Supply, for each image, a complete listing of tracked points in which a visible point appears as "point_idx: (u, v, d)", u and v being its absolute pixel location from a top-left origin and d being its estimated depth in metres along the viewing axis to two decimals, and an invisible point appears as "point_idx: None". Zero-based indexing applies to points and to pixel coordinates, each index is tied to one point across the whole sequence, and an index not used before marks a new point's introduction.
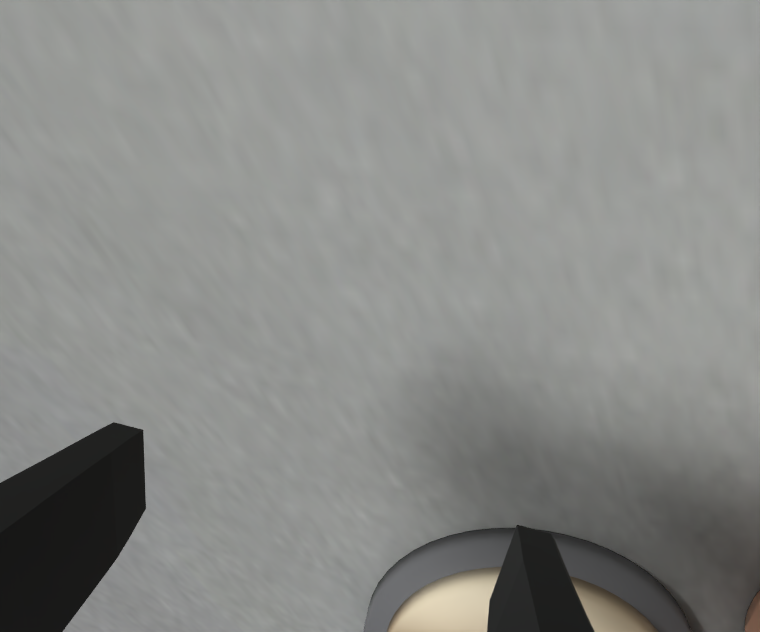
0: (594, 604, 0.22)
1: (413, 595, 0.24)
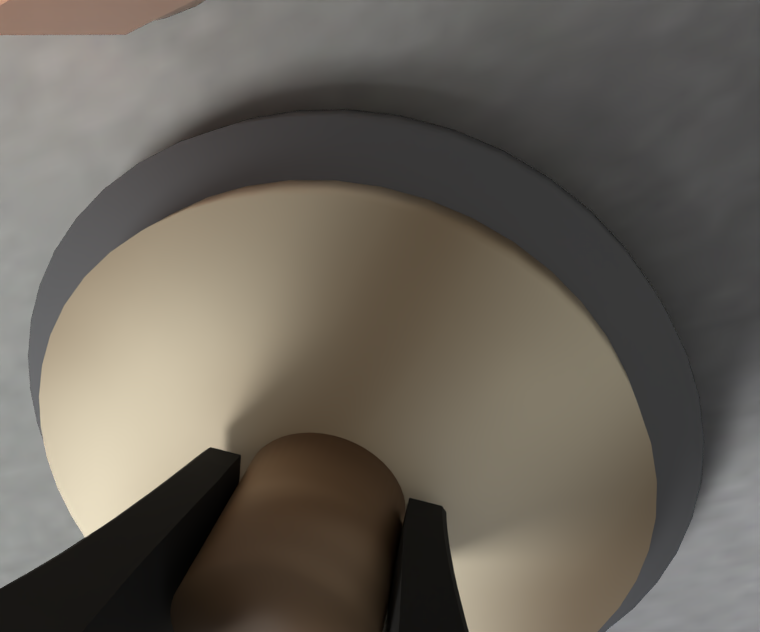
0: (42, 377, 0.11)
1: None
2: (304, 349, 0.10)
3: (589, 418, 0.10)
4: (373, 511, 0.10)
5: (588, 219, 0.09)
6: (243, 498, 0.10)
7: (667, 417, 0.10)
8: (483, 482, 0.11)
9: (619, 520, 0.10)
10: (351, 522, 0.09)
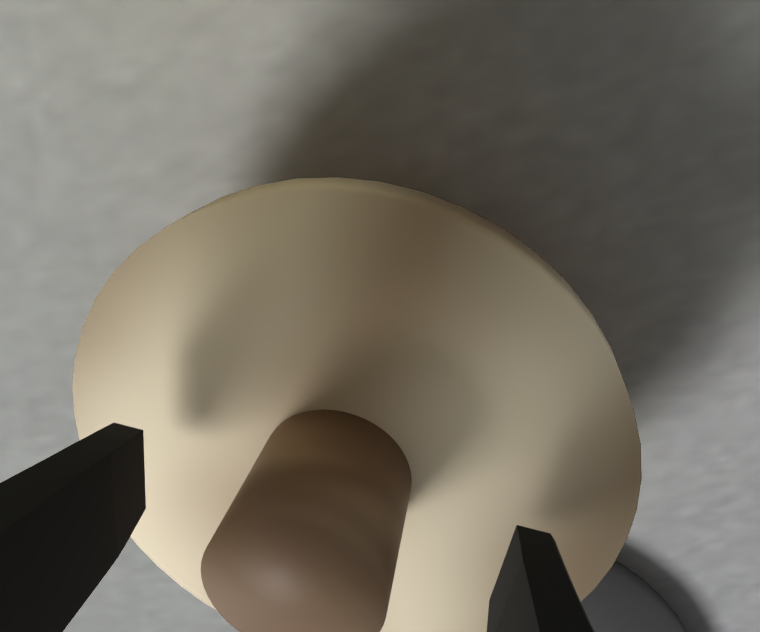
0: (75, 366, 0.13)
1: None
2: (314, 332, 0.11)
3: (575, 386, 0.11)
4: (381, 477, 0.11)
5: (645, 602, 0.18)
6: (262, 467, 0.11)
7: None
8: (481, 450, 0.12)
9: (608, 482, 0.11)
10: (362, 486, 0.10)
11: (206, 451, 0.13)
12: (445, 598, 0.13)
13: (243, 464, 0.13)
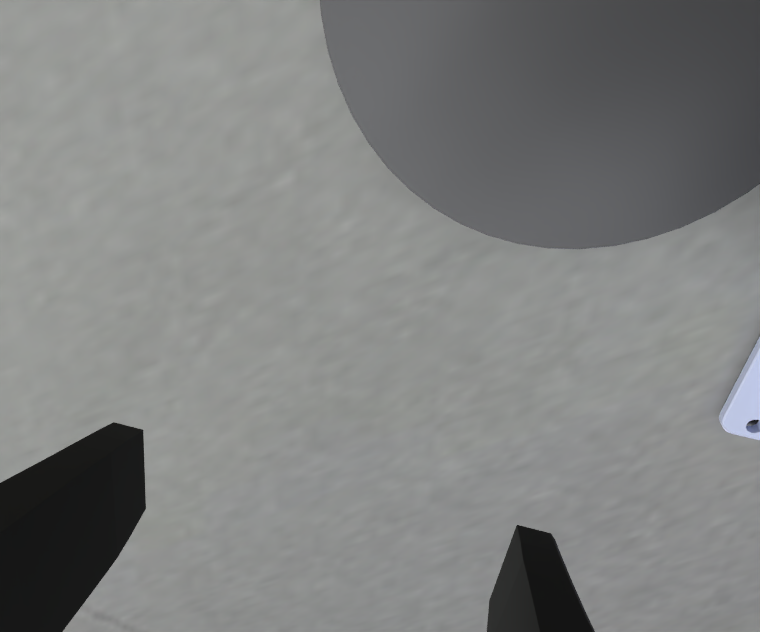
0: None
1: None
2: None
3: None
4: None
5: None
6: None
7: None
8: None
9: None
10: None
11: None
12: None
13: None
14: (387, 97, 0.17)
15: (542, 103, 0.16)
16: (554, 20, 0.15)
